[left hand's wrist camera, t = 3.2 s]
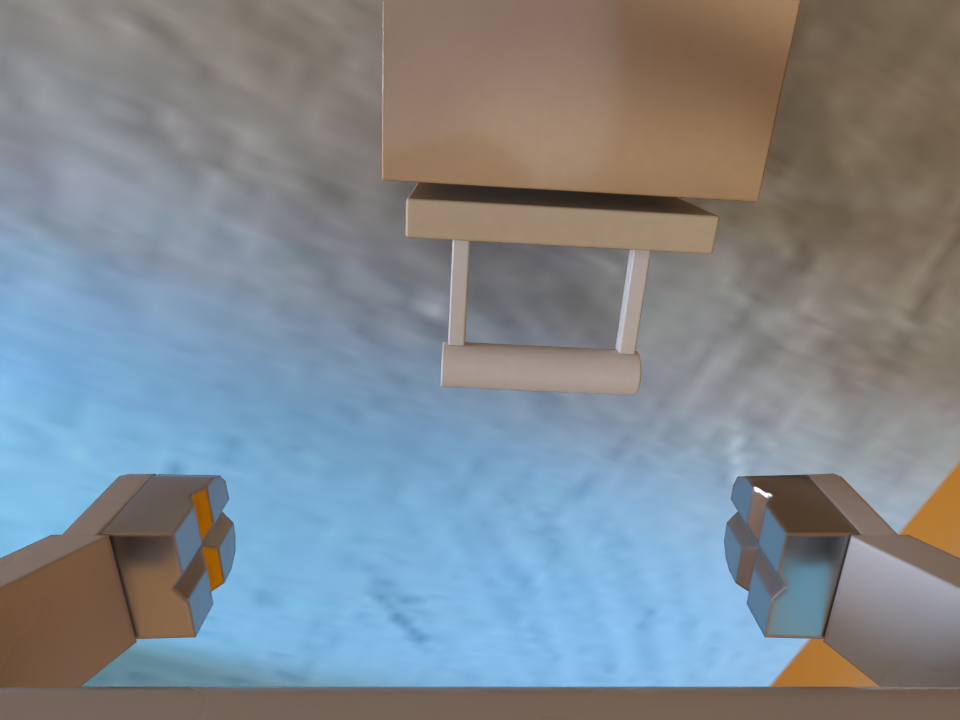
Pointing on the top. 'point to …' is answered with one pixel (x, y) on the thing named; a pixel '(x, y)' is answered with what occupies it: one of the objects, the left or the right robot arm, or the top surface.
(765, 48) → the wooden box
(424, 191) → the drawer
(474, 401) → the top surface
